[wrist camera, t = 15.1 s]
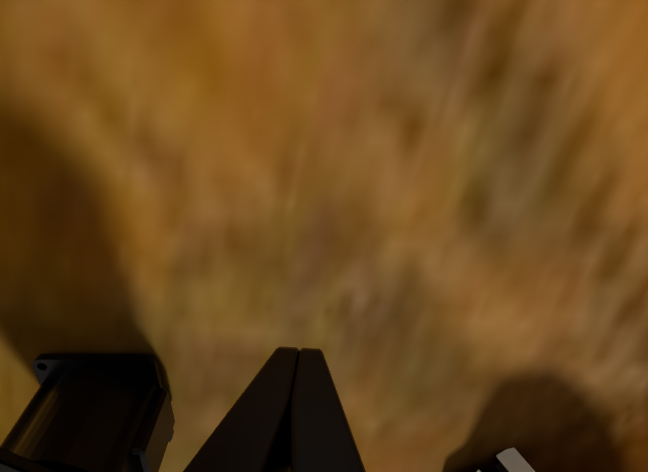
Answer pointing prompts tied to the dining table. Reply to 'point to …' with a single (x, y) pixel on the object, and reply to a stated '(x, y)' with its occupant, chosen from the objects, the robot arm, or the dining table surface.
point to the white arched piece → (512, 462)
